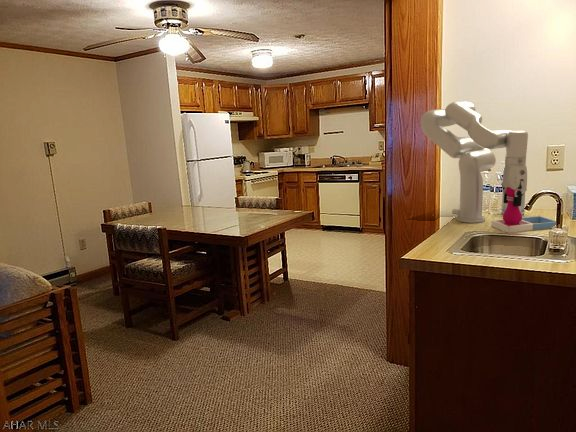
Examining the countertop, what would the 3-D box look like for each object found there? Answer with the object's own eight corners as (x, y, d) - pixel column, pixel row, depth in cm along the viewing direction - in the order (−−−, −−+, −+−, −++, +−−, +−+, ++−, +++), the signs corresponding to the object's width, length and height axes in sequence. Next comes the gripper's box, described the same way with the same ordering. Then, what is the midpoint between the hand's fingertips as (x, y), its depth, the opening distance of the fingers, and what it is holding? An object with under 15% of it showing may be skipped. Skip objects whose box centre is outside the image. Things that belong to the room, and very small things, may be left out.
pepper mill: (524, 229, 175) (526, 181, 170) (505, 230, 176) (507, 182, 172) (518, 225, 182) (520, 179, 177) (500, 225, 183) (502, 180, 179)
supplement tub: (514, 210, 208) (515, 181, 205) (529, 214, 199) (530, 183, 196) (497, 213, 206) (498, 183, 203) (511, 216, 197) (512, 185, 194)
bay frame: (507, 232, 173) (507, 226, 172) (491, 225, 184) (491, 220, 183) (558, 227, 175) (559, 221, 174) (539, 221, 186) (539, 216, 185)
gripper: (538, 163, 165) (534, 208, 169) (510, 158, 181) (507, 199, 186) (520, 164, 164) (516, 209, 168) (494, 159, 181) (491, 201, 185)
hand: (512, 204), depth 177 cm, fingers open, 5 cm apart
